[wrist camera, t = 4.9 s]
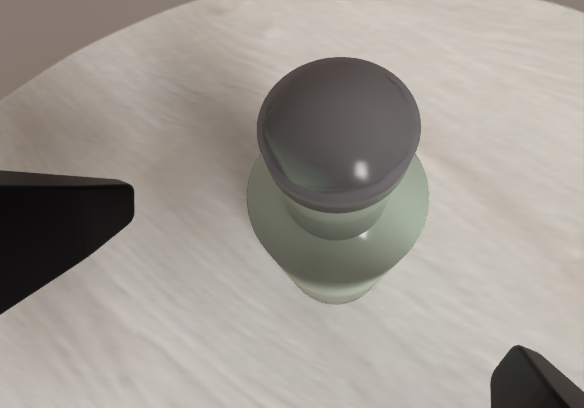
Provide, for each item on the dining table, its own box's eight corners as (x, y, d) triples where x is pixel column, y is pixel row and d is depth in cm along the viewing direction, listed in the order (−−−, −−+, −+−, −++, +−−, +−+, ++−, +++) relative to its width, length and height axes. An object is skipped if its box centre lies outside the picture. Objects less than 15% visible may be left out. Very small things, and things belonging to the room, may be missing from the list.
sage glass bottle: (274, 287, 19) (163, 212, 6) (302, 200, 20) (255, 2, 8) (369, 317, 18) (453, 297, 5) (391, 223, 19) (498, 39, 7)
